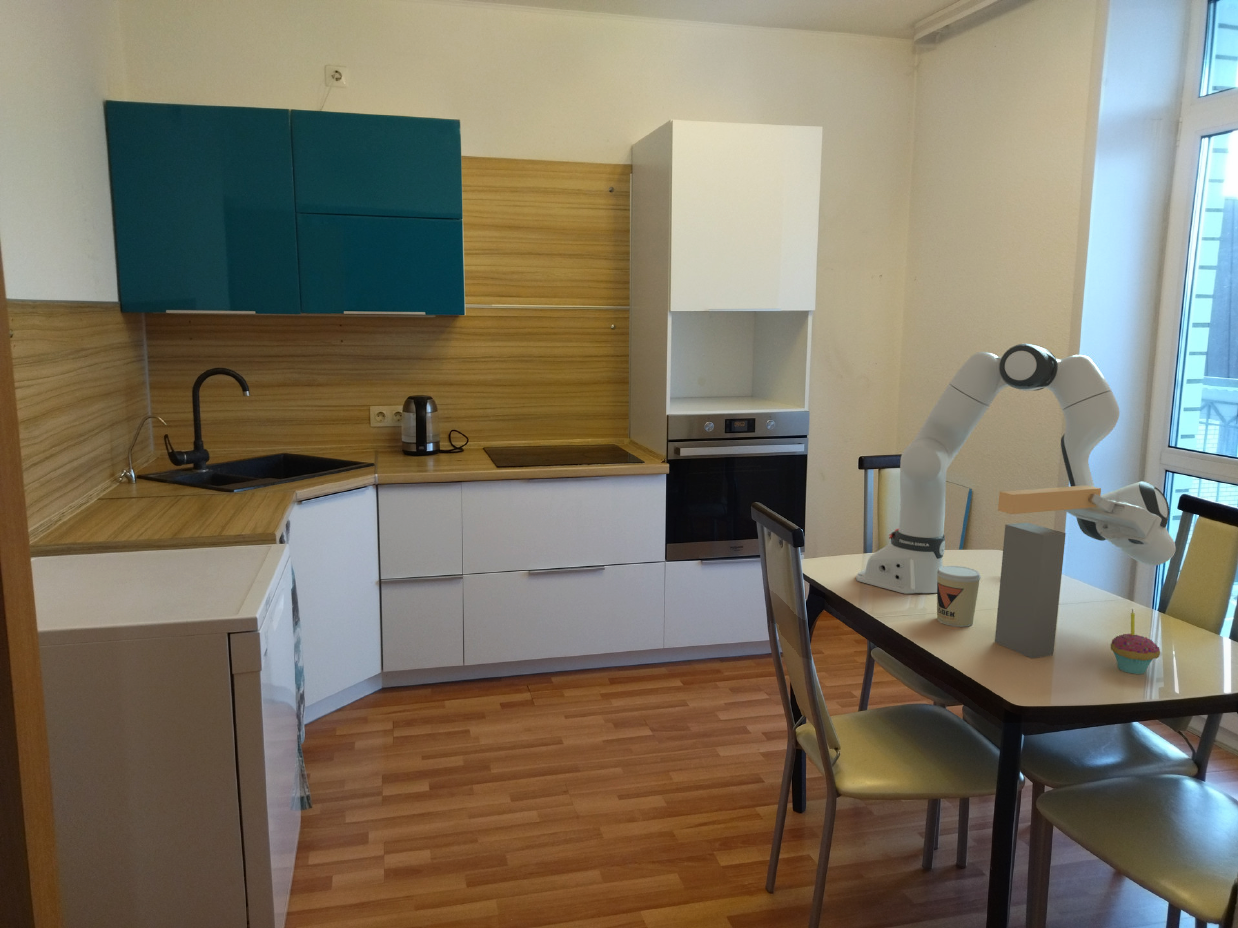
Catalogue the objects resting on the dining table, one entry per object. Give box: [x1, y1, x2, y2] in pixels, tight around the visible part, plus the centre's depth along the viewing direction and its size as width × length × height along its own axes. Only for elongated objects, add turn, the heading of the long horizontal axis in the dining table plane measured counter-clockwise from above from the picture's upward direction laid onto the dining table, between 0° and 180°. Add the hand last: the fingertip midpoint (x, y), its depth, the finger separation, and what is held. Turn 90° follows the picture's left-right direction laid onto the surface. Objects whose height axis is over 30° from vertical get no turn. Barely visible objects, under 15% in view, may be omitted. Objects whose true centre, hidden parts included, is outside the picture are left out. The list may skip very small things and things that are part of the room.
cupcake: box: [1110, 608, 1161, 675], centre depth 176 cm, size 9×8×12 cm
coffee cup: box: [936, 565, 982, 628], centre depth 204 cm, size 9×9×12 cm
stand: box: [994, 522, 1067, 659], centre depth 186 cm, size 6×10×26 cm, turn 21°
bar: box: [997, 485, 1102, 515], centre depth 184 cm, size 24×4×4 cm, turn 111°
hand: (1081, 494), depth 187 cm, fingers closed on bar, 4 cm apart
